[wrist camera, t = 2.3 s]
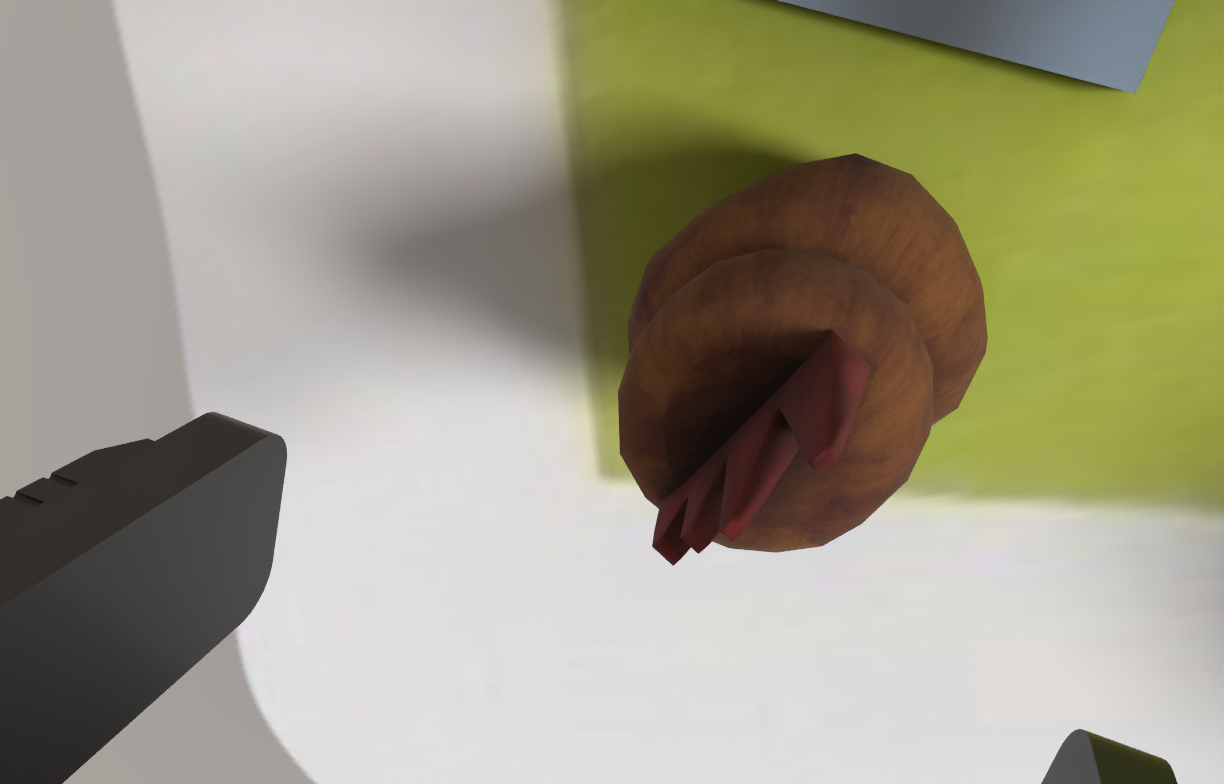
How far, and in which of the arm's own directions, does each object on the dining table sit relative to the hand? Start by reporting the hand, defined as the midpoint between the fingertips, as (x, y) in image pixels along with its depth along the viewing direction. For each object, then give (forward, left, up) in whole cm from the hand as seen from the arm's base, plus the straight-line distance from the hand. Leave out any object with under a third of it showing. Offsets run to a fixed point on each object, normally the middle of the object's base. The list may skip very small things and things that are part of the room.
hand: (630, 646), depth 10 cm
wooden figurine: (0, 0, -17) cm, 17 cm away
